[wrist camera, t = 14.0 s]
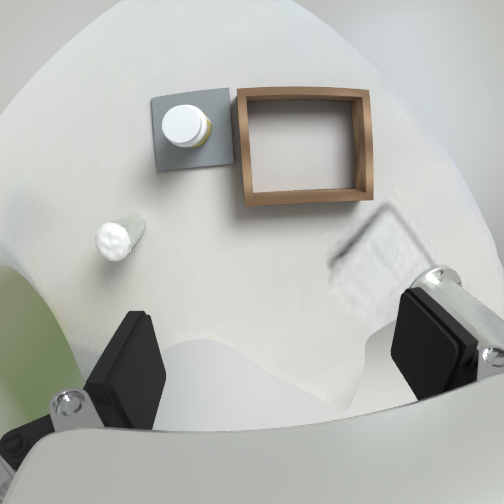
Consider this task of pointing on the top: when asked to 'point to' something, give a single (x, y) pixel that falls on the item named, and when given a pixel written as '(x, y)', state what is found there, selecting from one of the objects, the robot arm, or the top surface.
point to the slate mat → (214, 148)
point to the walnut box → (361, 144)
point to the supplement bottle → (186, 126)
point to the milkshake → (119, 237)
